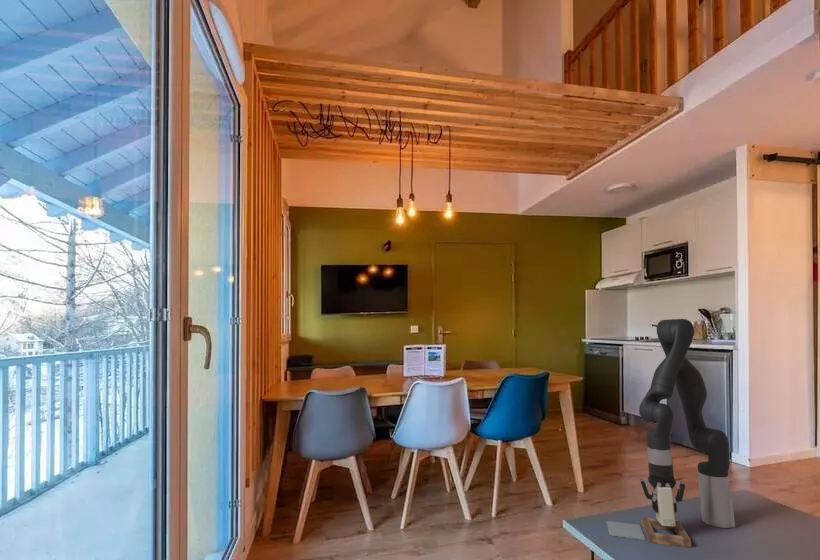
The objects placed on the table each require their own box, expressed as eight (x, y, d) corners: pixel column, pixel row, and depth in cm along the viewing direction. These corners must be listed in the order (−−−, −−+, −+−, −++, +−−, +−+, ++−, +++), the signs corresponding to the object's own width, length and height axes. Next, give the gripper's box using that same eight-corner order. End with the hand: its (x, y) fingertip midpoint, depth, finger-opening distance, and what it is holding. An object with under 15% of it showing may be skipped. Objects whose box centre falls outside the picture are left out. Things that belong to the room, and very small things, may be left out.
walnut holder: (679, 528, 155) (679, 521, 155) (691, 547, 142) (690, 539, 142) (641, 524, 159) (641, 517, 159) (649, 542, 146) (649, 534, 146)
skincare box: (676, 527, 147) (672, 489, 149) (661, 526, 148) (658, 488, 149) (669, 518, 154) (666, 482, 155) (655, 518, 154) (652, 482, 156)
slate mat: (639, 526, 158) (639, 524, 158) (645, 540, 147) (645, 538, 147) (606, 522, 161) (606, 521, 161) (609, 535, 151) (609, 534, 151)
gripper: (680, 459, 154) (685, 510, 153) (635, 456, 159) (639, 506, 157) (686, 465, 147) (691, 519, 145) (639, 463, 152) (643, 515, 150)
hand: (664, 512), depth 151 cm, fingers closed on skincare box, 4 cm apart
